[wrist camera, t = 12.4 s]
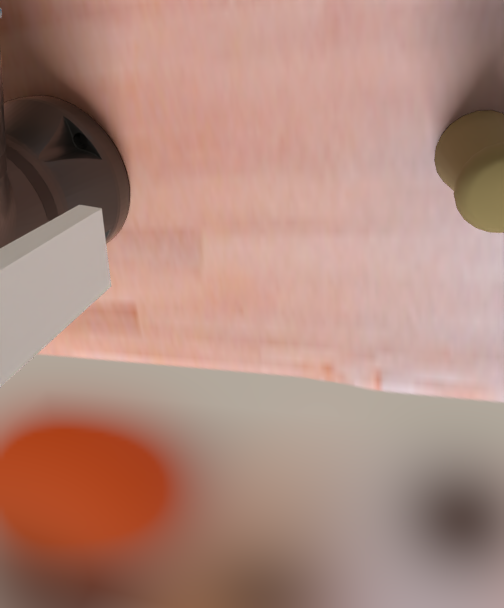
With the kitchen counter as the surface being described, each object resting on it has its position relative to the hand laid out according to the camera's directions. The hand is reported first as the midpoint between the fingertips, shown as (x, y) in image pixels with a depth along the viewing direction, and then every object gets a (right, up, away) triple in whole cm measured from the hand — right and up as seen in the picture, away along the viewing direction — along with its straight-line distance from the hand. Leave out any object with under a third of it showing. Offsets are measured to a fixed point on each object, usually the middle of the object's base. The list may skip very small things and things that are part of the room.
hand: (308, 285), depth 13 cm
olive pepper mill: (+16, +11, +21) cm, 28 cm away
